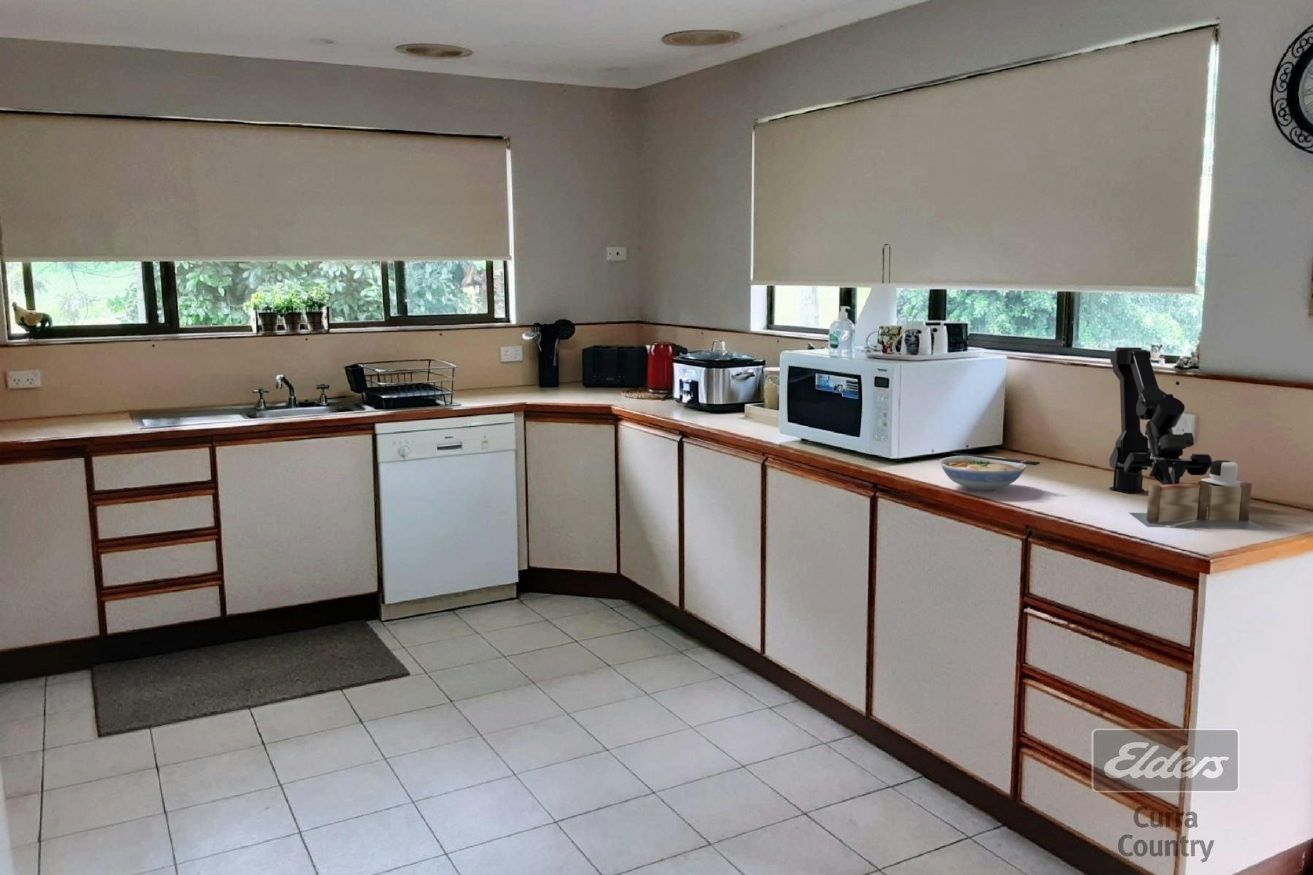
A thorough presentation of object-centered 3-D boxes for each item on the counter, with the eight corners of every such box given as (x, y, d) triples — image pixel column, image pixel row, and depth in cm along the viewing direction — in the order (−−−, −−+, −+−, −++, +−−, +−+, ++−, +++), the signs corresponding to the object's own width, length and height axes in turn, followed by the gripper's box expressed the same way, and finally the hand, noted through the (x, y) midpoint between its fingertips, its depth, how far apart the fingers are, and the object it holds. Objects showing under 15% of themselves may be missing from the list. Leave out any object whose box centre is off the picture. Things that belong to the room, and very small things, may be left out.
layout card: (1147, 528, 240) (1147, 526, 240) (1128, 514, 254) (1128, 512, 253) (1266, 531, 236) (1266, 529, 236) (1240, 516, 250) (1240, 514, 250)
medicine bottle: (1197, 506, 261) (1201, 459, 259) (1218, 503, 264) (1222, 457, 262) (1222, 512, 255) (1226, 464, 253) (1243, 509, 257) (1247, 462, 255)
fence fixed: (1197, 520, 246) (1200, 483, 244) (1193, 517, 248) (1196, 481, 246) (1250, 521, 244) (1253, 484, 243) (1245, 518, 246) (1249, 482, 245)
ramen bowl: (918, 488, 283) (919, 459, 282) (960, 476, 299) (962, 448, 298) (1003, 503, 266) (1005, 472, 264) (1043, 489, 281) (1045, 460, 280)
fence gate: (1191, 516, 247) (1194, 481, 246) (1198, 519, 245) (1201, 483, 244) (1144, 519, 244) (1146, 484, 243) (1151, 522, 242) (1153, 486, 241)
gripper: (1131, 420, 249) (1143, 473, 240) (1212, 421, 246) (1228, 475, 237) (1118, 446, 258) (1129, 499, 249) (1197, 447, 255) (1211, 501, 246)
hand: (1174, 493), depth 245 cm, fingers closed
